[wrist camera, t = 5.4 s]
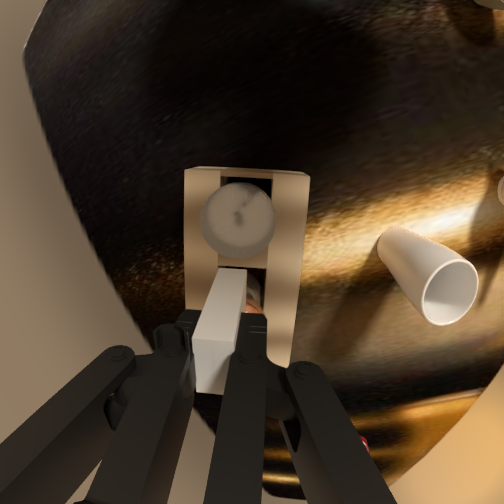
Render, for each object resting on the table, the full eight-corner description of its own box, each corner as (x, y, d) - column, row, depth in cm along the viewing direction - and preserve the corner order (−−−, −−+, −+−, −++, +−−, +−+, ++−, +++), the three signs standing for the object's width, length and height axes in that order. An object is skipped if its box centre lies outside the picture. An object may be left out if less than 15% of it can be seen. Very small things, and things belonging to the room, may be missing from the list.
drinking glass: (372, 274, 39) (419, 335, 25) (367, 224, 37) (420, 267, 23) (417, 264, 39) (476, 316, 24) (414, 215, 37) (481, 251, 22)
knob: (218, 173, 29) (200, 182, 21) (275, 176, 29) (279, 186, 21) (216, 228, 31) (199, 256, 23) (271, 232, 31) (273, 261, 23)
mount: (199, 166, 36) (184, 169, 29) (301, 172, 36) (310, 176, 29) (199, 341, 44) (189, 372, 37) (284, 348, 43) (286, 379, 37)
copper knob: (215, 263, 32) (199, 300, 24) (268, 266, 32) (269, 305, 24) (215, 310, 34) (201, 355, 26) (265, 313, 34) (264, 360, 26)
